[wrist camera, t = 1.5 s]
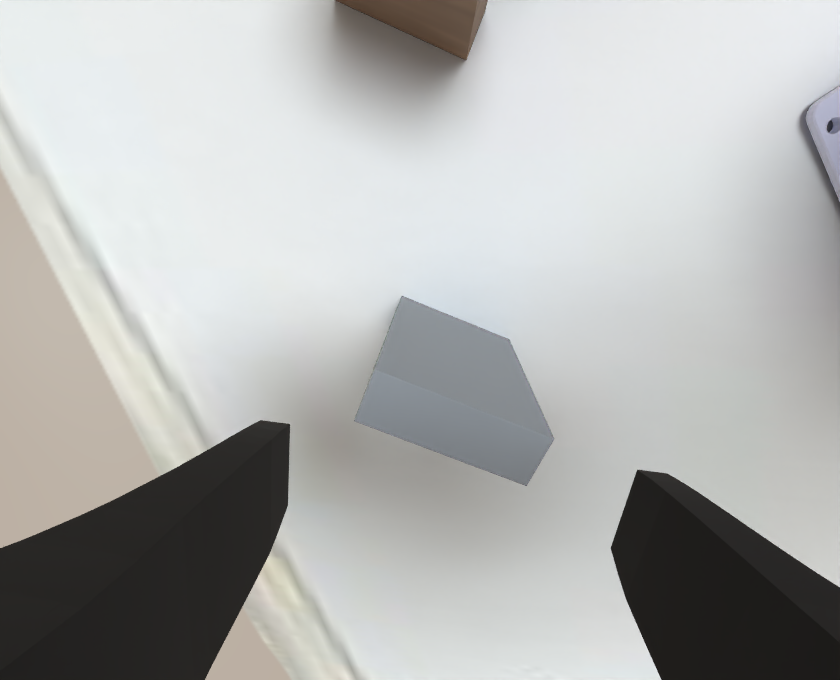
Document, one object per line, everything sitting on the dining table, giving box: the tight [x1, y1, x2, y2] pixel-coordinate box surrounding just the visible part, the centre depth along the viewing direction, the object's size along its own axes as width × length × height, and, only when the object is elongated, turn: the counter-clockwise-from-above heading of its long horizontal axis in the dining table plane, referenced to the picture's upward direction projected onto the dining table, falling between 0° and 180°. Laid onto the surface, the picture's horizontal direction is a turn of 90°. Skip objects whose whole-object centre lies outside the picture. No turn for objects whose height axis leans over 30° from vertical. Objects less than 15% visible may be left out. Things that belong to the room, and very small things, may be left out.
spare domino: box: [354, 296, 554, 486], centre depth 15 cm, size 2×5×8 cm, turn 68°
